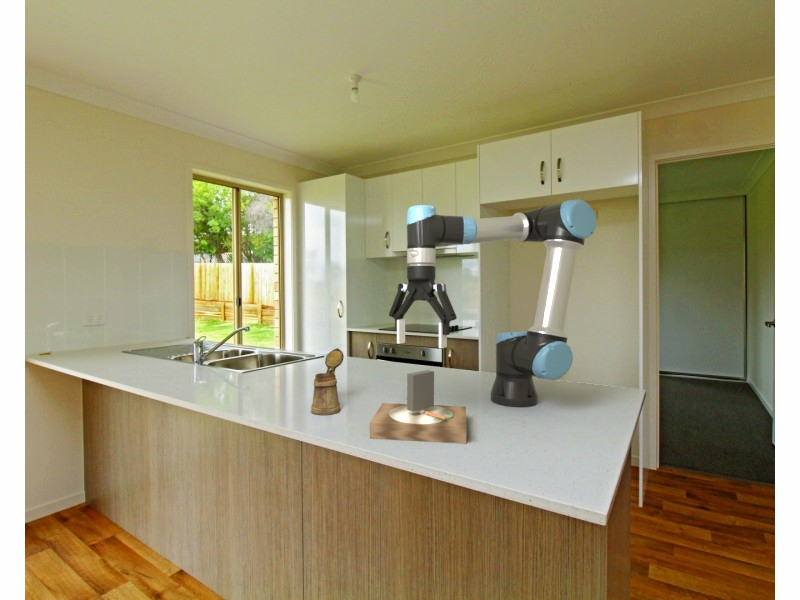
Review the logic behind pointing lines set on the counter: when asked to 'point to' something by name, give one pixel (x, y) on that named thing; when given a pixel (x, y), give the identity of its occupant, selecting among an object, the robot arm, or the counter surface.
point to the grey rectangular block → (421, 392)
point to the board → (419, 424)
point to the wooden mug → (327, 386)
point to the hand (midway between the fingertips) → (421, 345)
